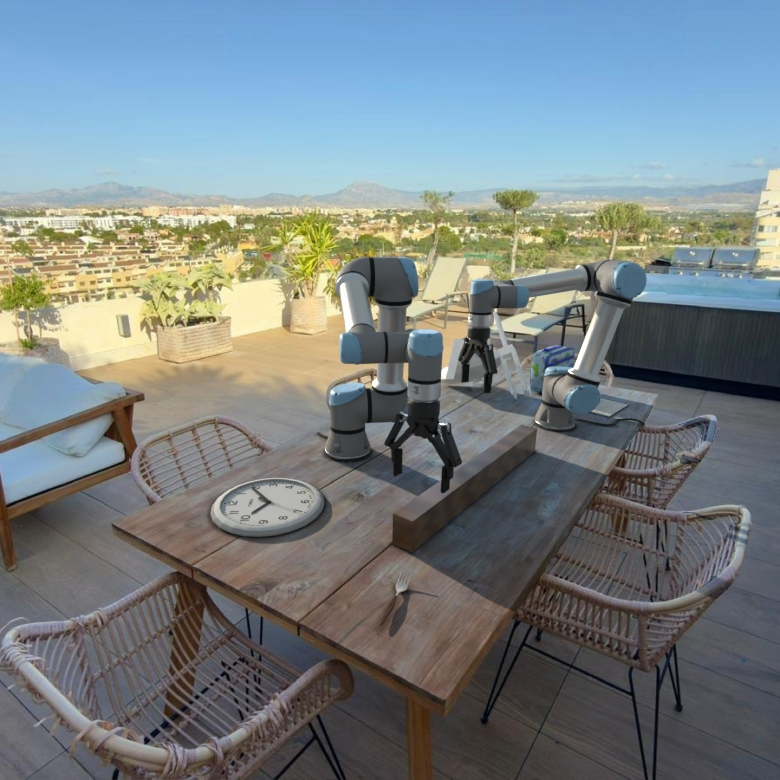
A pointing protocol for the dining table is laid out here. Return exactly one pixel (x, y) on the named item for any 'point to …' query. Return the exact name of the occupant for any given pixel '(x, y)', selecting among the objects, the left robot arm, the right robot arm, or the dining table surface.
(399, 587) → the fork
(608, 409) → the invitation card
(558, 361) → the lunch box
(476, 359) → the white plastic object
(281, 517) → the wall clock
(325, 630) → the dining table surface
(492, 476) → the post
